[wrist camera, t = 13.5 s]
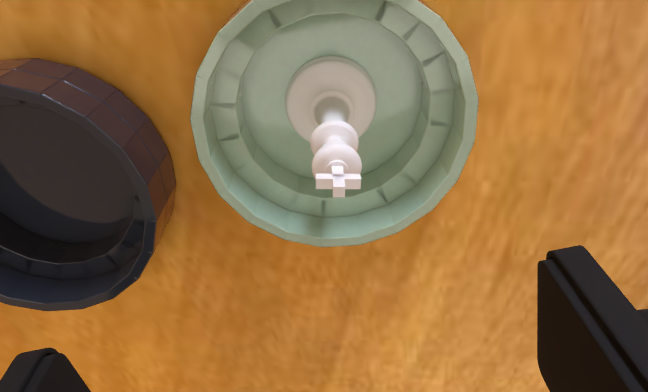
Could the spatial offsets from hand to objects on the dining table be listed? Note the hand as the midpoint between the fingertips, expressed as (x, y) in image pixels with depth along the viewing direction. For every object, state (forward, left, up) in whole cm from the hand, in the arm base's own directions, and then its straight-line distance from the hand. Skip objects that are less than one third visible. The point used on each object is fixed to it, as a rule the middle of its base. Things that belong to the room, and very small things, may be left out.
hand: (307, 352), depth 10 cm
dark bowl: (-9, -13, -19) cm, 25 cm away
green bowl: (+2, -1, -19) cm, 19 cm away
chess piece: (+2, -1, -19) cm, 19 cm away
